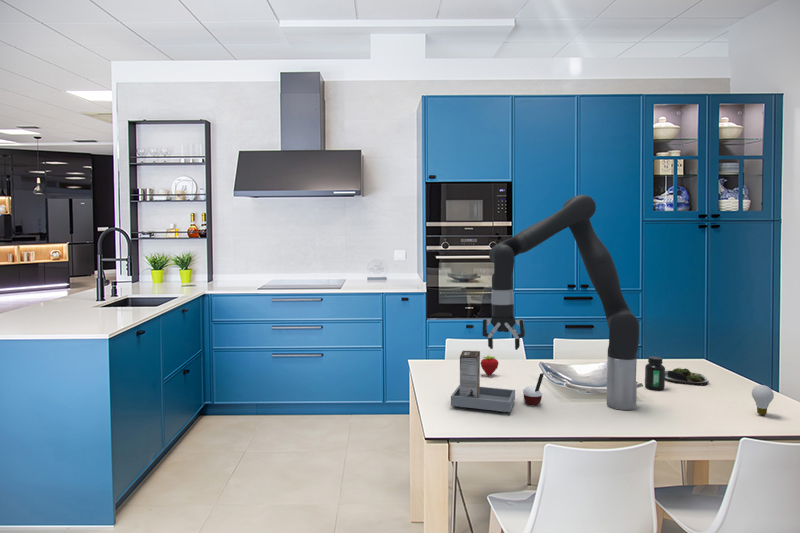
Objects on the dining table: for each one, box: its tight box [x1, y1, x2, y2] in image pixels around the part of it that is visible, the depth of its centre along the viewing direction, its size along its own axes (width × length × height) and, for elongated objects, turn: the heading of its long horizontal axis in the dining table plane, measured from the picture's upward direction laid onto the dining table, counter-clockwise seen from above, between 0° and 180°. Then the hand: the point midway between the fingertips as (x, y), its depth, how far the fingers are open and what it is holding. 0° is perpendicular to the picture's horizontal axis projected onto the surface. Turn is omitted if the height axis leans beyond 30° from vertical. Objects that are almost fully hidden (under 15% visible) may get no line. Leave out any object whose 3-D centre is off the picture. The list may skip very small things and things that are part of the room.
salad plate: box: [665, 367, 709, 387], centre depth 211 cm, size 19×18×5 cm
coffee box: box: [459, 350, 481, 398], centre depth 178 cm, size 9×6×16 cm
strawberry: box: [480, 353, 499, 377], centre depth 214 cm, size 6×8×10 cm
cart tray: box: [450, 384, 516, 414], centre depth 177 cm, size 20×14×4 cm
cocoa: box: [522, 372, 545, 407], centre depth 178 cm, size 10×6×12 cm, turn 3°
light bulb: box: [751, 384, 775, 416], centre depth 167 cm, size 6×6×10 cm
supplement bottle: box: [644, 356, 666, 392], centre depth 196 cm, size 7×7×12 cm
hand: (503, 348), depth 177 cm, fingers open, 8 cm apart
